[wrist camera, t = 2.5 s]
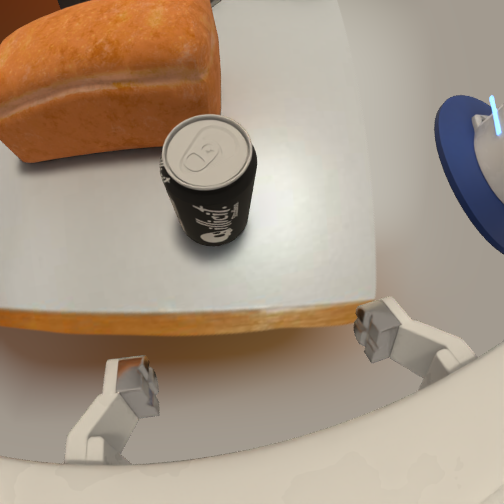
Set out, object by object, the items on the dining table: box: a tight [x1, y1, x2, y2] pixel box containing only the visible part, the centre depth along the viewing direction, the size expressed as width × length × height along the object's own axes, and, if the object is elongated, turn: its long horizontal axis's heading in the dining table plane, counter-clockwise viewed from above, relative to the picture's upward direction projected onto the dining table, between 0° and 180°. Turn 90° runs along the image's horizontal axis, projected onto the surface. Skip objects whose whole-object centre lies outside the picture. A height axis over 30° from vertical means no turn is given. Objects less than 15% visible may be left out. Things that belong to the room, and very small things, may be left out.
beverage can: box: [160, 114, 257, 246], centre depth 24 cm, size 7×7×12 cm
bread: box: [0, 0, 221, 163], centre depth 25 cm, size 14×26×16 cm, turn 93°
